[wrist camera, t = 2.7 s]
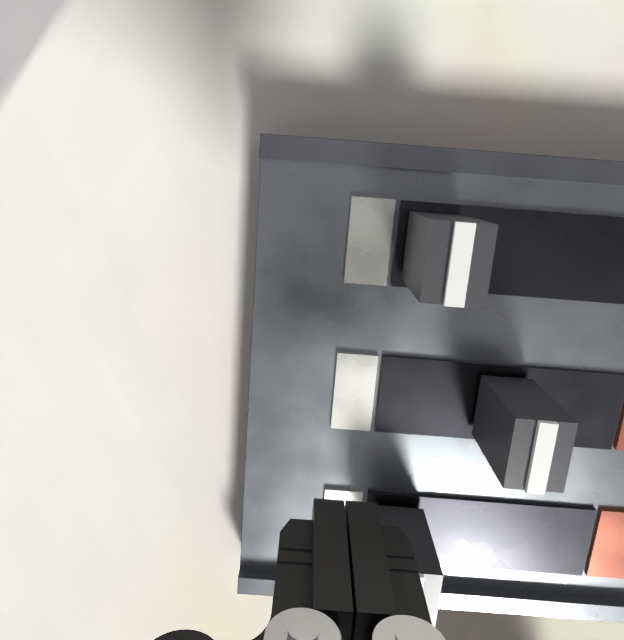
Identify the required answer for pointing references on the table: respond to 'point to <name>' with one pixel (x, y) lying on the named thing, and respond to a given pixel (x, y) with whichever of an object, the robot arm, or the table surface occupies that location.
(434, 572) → the breaker
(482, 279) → the breaker
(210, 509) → the table surface
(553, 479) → the breaker
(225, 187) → the table surface
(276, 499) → the panel
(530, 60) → the table surface
